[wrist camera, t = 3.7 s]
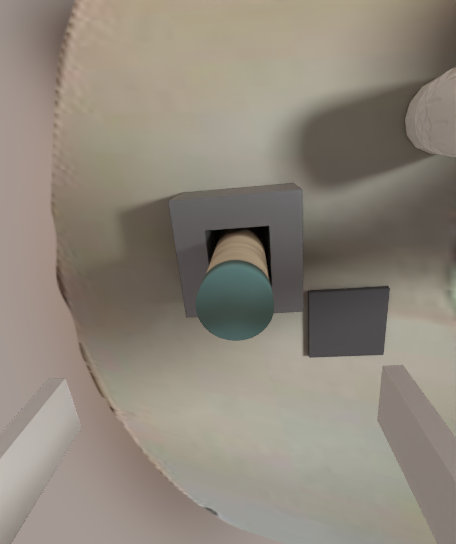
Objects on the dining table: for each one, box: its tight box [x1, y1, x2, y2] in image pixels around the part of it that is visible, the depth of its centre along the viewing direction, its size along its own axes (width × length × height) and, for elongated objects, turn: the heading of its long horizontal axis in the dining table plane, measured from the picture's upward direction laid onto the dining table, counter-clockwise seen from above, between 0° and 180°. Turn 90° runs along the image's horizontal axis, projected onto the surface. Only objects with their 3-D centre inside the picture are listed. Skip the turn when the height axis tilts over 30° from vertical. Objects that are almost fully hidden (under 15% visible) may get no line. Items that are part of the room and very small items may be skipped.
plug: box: [196, 227, 274, 341], centre depth 28 cm, size 5×5×16 cm
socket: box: [168, 183, 303, 317], centre depth 33 cm, size 12×12×6 cm
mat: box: [308, 286, 390, 357], centre depth 38 cm, size 9×9×1 cm
